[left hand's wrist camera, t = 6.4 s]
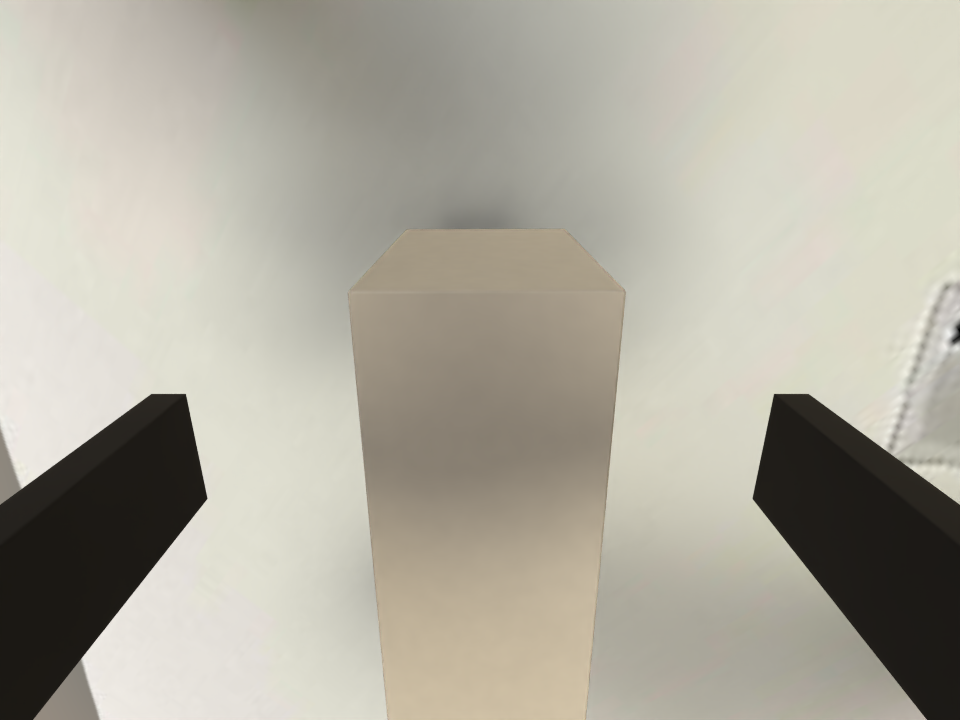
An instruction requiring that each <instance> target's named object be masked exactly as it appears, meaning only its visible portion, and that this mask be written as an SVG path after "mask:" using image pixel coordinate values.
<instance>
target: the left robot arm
mask: <svg viewBox="0 0 960 720" xmlns="http://www.w3.org/2000/svg"><path fill="white" fill-rule="evenodd" d="M206 500H207V494H206V490H205V485H204V480H203V475H202V470H201V465H200V460H199V456H198V451H197V446H196V441H195V436H194V431H193V427H192V422H191V417H190V412H189V407H188V402H187V397H186V394H151V395H150V396H148V397H147V398H145V399H144V400H143V401H141V402H140V403H139V404H137V405H136V406H135V407H133V408H132V409H130V410H129V411H128V412H126V413H125V414H124V415H122V416H121V417H119V418H118V419H117V420H115V421H114V422H113V423H111V424H110V425H109V426H107V427H106V428H104V429H103V430H102V431H100V432H99V433H98V434H96V435H95V436H94V437H92V438H91V439H89V440H88V441H87V442H85V443H84V444H83V445H81V446H80V447H79V448H77V449H76V450H74V451H73V452H72V453H70V454H69V455H68V456H66V457H65V458H64V459H62V460H61V461H59V462H58V463H57V464H55V465H54V466H53V467H51V468H50V469H48V470H47V471H46V472H44V473H43V474H42V475H40V476H39V477H38V478H36V479H35V480H33V481H32V482H31V483H29V484H28V485H27V486H25V487H24V488H23V489H21V490H20V491H18V492H17V493H16V494H14V495H13V496H12V497H10V498H9V499H8V500H6V501H5V502H3V503H2V504H1V505H0V720H33V719H34V718H35V717H36V715H37V714H38V713H39V711H40V710H41V709H42V708H43V706H44V705H45V704H46V703H47V701H48V700H49V699H50V698H51V696H52V695H53V694H54V692H55V691H56V690H57V689H58V687H59V686H60V685H61V684H62V682H63V681H64V680H65V679H66V677H67V676H68V675H69V673H70V672H71V671H72V670H73V668H74V667H75V666H76V665H77V663H78V662H79V661H80V660H81V658H82V657H83V656H84V654H85V653H86V652H87V651H88V649H89V648H90V647H91V646H92V644H93V643H94V642H95V641H96V639H97V638H98V637H99V635H100V634H101V633H102V632H103V630H104V629H105V628H106V627H107V625H108V624H109V623H110V622H111V620H112V619H113V618H114V616H115V615H116V614H117V613H118V611H119V610H120V609H121V608H122V606H123V605H124V604H125V603H126V601H127V600H128V599H129V597H130V596H131V595H132V594H133V592H134V591H135V590H136V589H137V587H138V586H139V585H140V584H141V582H142V581H143V580H144V578H145V577H146V576H147V575H148V573H149V572H150V571H151V570H152V568H153V567H154V566H155V565H156V563H157V562H158V561H159V559H160V558H161V557H162V556H163V554H164V553H165V552H166V551H167V549H168V548H169V547H170V546H171V544H172V543H173V542H174V540H175V539H176V538H177V537H178V535H179V534H180V533H181V532H182V530H183V529H184V528H185V527H186V525H187V524H188V523H189V521H190V520H191V519H192V518H193V516H194V515H195V514H196V513H197V511H198V510H199V509H200V508H201V506H202V505H203V504H204V502H205V501H206ZM753 500H754V501H755V502H756V504H757V505H758V506H759V508H760V509H761V510H762V511H763V513H764V514H765V515H766V516H767V518H768V519H769V520H770V521H771V523H772V524H773V525H774V527H775V528H776V529H777V530H778V532H779V533H780V534H781V535H782V537H783V538H784V539H785V540H786V542H787V543H788V544H789V546H790V547H791V548H792V549H793V551H794V552H795V553H796V554H797V556H798V557H799V558H800V559H801V561H802V562H803V563H804V565H805V566H806V567H807V568H808V570H809V571H810V572H811V573H812V575H813V576H814V577H815V578H816V580H817V581H818V582H819V584H820V585H821V586H822V587H823V589H824V590H825V591H826V592H827V594H828V595H829V596H830V597H831V599H832V600H833V601H834V603H835V604H836V605H837V606H838V608H839V609H840V610H841V611H842V613H843V614H844V615H845V616H846V618H847V619H848V620H849V622H850V623H851V624H852V625H853V627H854V628H855V629H856V630H857V632H858V633H859V634H860V635H861V637H862V638H863V639H864V641H865V642H866V643H867V644H868V646H869V647H870V648H871V649H872V651H873V652H874V653H875V654H876V656H877V657H878V658H879V660H880V661H881V662H882V663H883V665H884V666H885V667H886V668H887V670H888V671H889V672H890V673H891V675H892V676H893V677H894V679H895V680H896V681H897V682H898V684H899V685H900V686H901V687H902V689H903V690H904V691H905V692H906V694H907V695H908V696H909V698H910V699H911V700H912V701H913V703H914V704H915V705H916V706H917V708H918V709H919V710H920V711H921V713H922V714H923V715H924V717H925V718H926V719H927V720H960V505H959V504H958V503H957V502H955V501H954V500H952V499H951V498H950V497H948V496H947V495H946V494H944V493H943V492H942V491H940V490H939V489H937V488H936V487H935V486H933V485H932V484H931V483H929V482H928V481H927V480H925V479H924V478H922V477H921V476H920V475H918V474H917V473H916V472H914V471H913V470H912V469H910V468H909V467H907V466H906V465H905V464H903V463H902V462H901V461H899V460H898V459H896V458H895V457H894V456H892V455H891V454H890V453H888V452H887V451H886V450H884V449H883V448H881V447H880V446H879V445H877V444H876V443H875V442H873V441H872V440H871V439H869V438H868V437H866V436H865V435H864V434H862V433H861V432H860V431H858V430H857V429H856V428H854V427H853V426H851V425H850V424H849V423H847V422H846V421H845V420H843V419H842V418H841V417H839V416H838V415H836V414H835V413H834V412H832V411H831V410H830V409H828V408H827V407H825V406H824V405H823V404H821V403H820V402H819V401H817V400H816V399H815V398H813V397H812V396H810V395H809V394H774V397H773V402H772V407H771V412H770V417H769V422H768V427H767V431H766V436H765V441H764V446H763V451H762V456H761V460H760V465H759V470H758V475H757V480H756V485H755V490H754V494H753Z"/></svg>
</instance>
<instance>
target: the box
mask: <svg viewBox="0 0 960 720" xmlns="http://www.w3.org/2000/svg"><path fill="white" fill-rule="evenodd" d="M625 295H626V292H625V290H624V289H623V288H622V287H621V286H620V285H619V284H618V283H617V282H616V281H615V280H614V279H613V278H612V277H611V276H610V275H609V274H608V273H607V272H606V271H605V270H604V269H603V268H602V266H601V265H600V264H599V263H598V262H597V261H596V260H595V259H594V258H593V257H592V256H591V255H590V254H589V253H588V252H587V251H586V250H585V249H584V248H583V247H582V246H581V245H580V244H579V243H578V242H577V241H576V240H575V239H574V238H573V237H572V236H571V235H570V234H569V233H568V232H567V231H566V230H565V229H407V230H406V231H405V232H404V233H403V234H402V235H401V236H400V237H399V238H398V239H397V240H396V241H395V242H394V243H393V244H392V246H391V247H390V248H389V249H388V250H387V251H386V252H385V253H384V254H383V255H382V256H381V257H380V258H379V259H378V260H377V261H376V263H375V264H374V265H373V266H372V267H371V268H370V269H369V270H368V271H367V272H366V273H365V274H364V275H363V276H362V277H361V278H360V280H359V281H358V282H357V283H356V284H355V285H354V286H353V287H352V288H351V289H350V290H349V291H348V300H349V310H350V321H351V332H352V342H353V353H354V364H355V375H356V385H357V396H358V407H359V417H360V428H361V439H362V449H363V460H364V471H365V482H366V492H367V503H368V514H369V524H370V535H371V546H372V556H373V567H374V578H375V589H376V599H377V610H378V621H379V631H380V642H381V653H382V663H383V674H384V685H385V696H386V706H387V717H388V720H586V710H587V699H588V688H589V678H590V667H591V657H592V646H593V635H594V625H595V614H596V603H597V593H598V582H599V571H600V561H601V550H602V540H603V529H604V518H605V508H606V497H607V486H608V476H609V465H610V454H611V444H612V433H613V423H614V412H615V401H616V391H617V380H618V369H619V359H620V348H621V337H622V327H623V316H624V305H625Z"/></svg>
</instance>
